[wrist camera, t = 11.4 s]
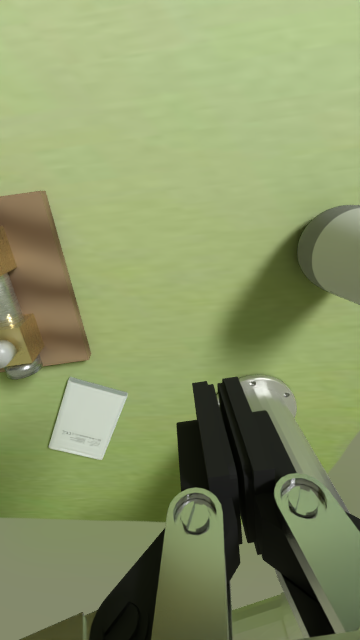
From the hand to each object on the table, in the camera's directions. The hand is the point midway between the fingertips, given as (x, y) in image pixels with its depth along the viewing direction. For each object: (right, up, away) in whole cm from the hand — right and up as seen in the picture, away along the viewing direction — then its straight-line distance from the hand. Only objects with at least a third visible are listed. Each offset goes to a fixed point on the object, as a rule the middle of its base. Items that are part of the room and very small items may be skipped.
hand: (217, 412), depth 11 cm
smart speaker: (+16, +12, +26) cm, 33 cm away
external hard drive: (-15, -11, +34) cm, 39 cm away
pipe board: (-21, +7, +25) cm, 34 cm away
